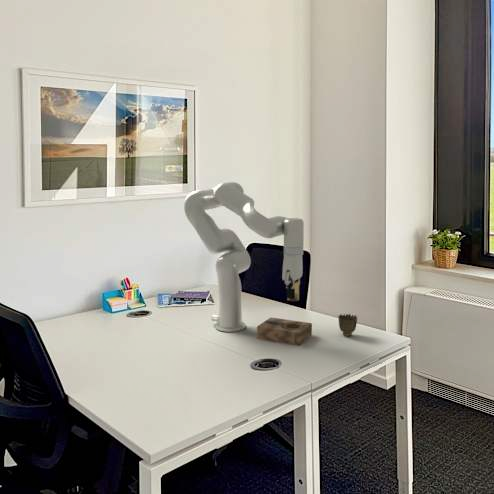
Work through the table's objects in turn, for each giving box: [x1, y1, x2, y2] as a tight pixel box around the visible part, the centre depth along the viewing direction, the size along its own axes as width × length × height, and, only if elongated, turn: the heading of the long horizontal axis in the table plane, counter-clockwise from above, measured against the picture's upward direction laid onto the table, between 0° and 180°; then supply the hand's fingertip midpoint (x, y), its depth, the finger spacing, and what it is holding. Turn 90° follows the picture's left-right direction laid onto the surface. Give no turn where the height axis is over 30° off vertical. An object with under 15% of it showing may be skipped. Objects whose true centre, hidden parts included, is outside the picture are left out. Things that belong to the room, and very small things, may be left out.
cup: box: [337, 313, 358, 338], centre depth 222 cm, size 8×7×8 cm
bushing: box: [287, 281, 300, 302], centre depth 217 cm, size 4×4×7 cm
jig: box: [256, 317, 313, 346], centre depth 222 cm, size 18×13×6 cm
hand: (293, 296), depth 218 cm, fingers closed on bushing, 4 cm apart
